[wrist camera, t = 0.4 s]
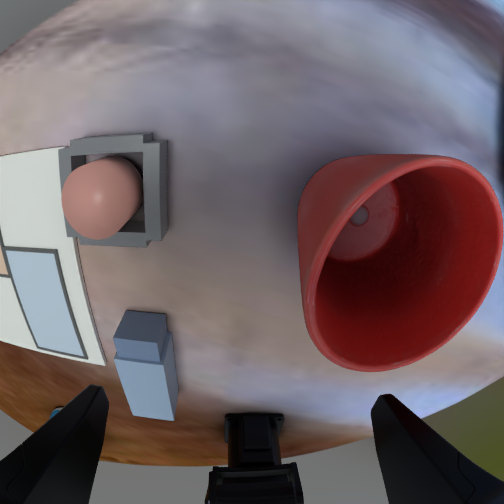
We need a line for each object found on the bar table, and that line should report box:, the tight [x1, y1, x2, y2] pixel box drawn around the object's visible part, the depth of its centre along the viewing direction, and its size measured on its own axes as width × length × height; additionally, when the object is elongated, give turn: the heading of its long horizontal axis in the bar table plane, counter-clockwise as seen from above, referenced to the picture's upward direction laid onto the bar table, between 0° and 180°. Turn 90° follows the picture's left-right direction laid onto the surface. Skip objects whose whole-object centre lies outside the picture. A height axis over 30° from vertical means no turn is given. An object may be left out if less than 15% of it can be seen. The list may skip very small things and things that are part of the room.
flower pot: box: [297, 154, 503, 372], centre depth 15 cm, size 11×11×10 cm
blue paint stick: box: [113, 311, 179, 421], centre depth 23 cm, size 10×4×4 cm, turn 175°
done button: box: [61, 156, 144, 240], centre depth 16 cm, size 4×4×3 cm
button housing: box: [58, 133, 168, 248], centre depth 17 cm, size 7×7×2 cm
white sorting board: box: [0, 146, 107, 366], centre depth 20 cm, size 20×16×1 cm
